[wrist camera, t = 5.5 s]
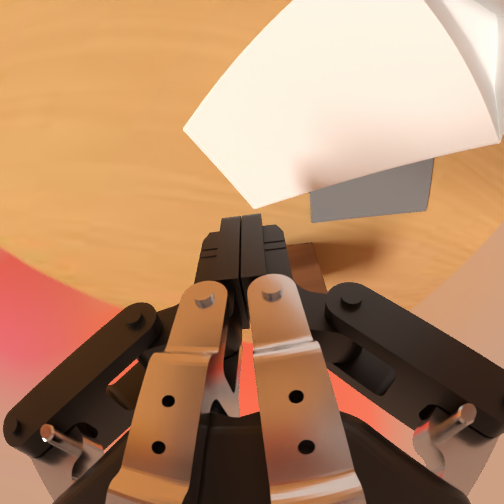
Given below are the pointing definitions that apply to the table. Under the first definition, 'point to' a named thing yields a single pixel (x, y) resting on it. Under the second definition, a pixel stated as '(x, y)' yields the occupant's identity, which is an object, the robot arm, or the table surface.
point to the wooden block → (306, 268)
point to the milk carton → (354, 93)
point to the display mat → (375, 194)
